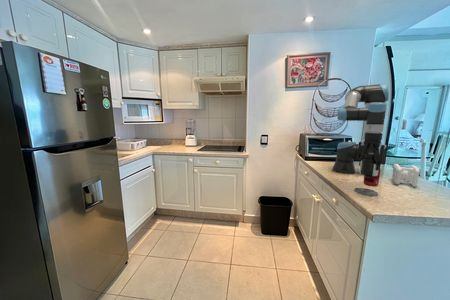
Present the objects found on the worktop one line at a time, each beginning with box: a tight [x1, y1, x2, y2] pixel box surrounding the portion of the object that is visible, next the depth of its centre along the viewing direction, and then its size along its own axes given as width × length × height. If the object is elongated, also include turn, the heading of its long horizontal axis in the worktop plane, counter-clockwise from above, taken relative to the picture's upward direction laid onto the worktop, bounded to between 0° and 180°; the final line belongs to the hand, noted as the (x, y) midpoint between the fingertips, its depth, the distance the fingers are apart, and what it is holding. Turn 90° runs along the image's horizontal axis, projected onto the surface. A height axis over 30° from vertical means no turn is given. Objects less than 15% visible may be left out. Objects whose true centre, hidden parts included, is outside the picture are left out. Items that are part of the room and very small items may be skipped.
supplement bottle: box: [360, 153, 376, 176], centre depth 104 cm, size 7×7×12 cm
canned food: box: [363, 167, 382, 187], centre depth 119 cm, size 8×8×11 cm
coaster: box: [353, 187, 379, 197], centre depth 107 cm, size 11×11×1 cm
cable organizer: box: [391, 163, 421, 188], centre depth 120 cm, size 15×11×12 cm
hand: (368, 173), depth 105 cm, fingers closed on supplement bottle, 7 cm apart
